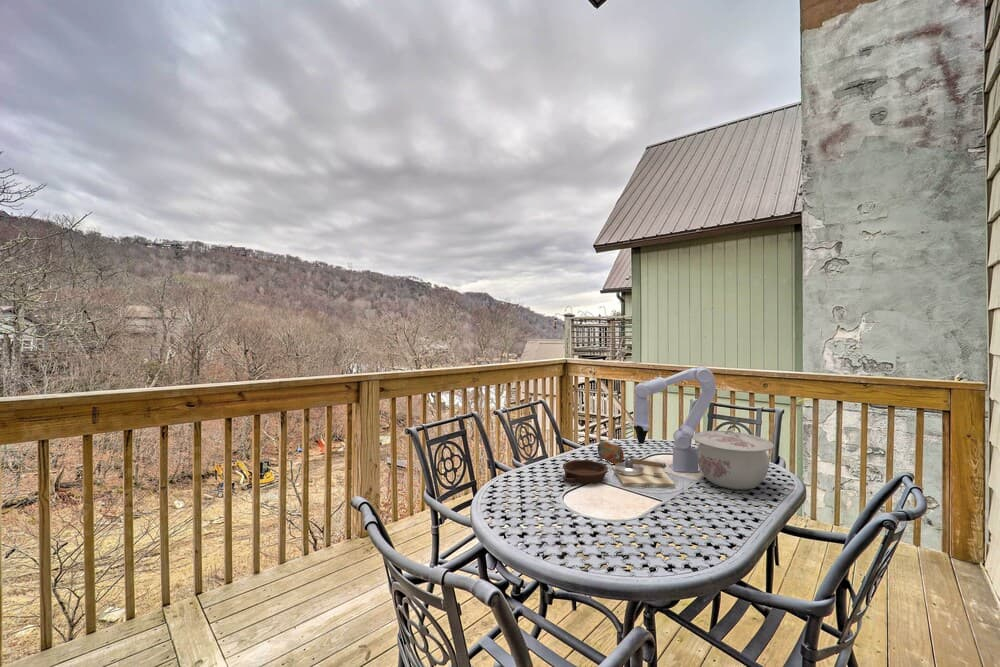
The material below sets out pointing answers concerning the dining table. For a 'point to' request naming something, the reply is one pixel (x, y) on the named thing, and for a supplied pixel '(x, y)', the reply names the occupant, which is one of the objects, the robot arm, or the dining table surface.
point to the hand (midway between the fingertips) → (641, 443)
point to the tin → (610, 452)
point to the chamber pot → (733, 458)
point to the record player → (646, 478)
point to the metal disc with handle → (635, 466)
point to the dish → (584, 472)
